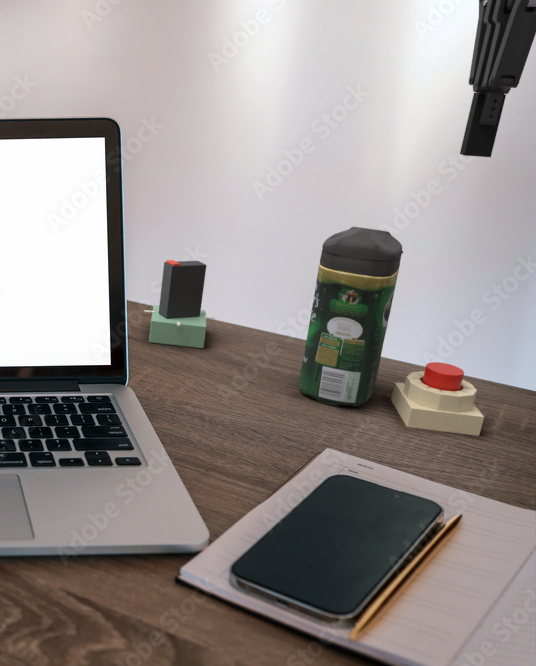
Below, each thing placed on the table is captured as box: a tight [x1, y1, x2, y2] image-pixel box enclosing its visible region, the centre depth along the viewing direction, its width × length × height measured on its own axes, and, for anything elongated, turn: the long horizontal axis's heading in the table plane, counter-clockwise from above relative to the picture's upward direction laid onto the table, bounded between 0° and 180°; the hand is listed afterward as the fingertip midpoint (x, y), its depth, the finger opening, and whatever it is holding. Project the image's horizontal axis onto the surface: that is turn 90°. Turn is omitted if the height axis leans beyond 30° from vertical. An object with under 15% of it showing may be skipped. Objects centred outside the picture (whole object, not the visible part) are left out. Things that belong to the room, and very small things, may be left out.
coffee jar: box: [298, 226, 404, 407], centre depth 85 cm, size 10×8×19 cm
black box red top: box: [158, 259, 207, 318], centre depth 101 cm, size 5×2×7 cm, turn 109°
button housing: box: [390, 370, 485, 437], centre depth 82 cm, size 7×7×4 cm
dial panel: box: [143, 304, 216, 349], centre depth 102 cm, size 9×9×3 cm
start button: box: [422, 361, 465, 392], centre depth 81 cm, size 4×4×2 cm
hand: (475, 155), depth 85 cm, fingers closed
